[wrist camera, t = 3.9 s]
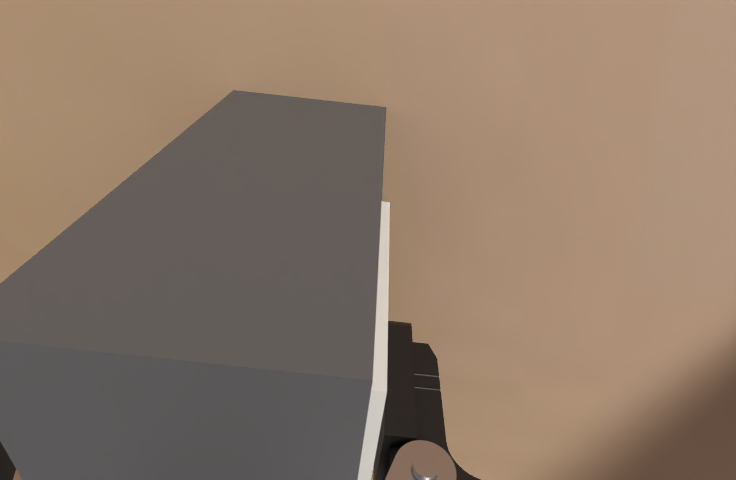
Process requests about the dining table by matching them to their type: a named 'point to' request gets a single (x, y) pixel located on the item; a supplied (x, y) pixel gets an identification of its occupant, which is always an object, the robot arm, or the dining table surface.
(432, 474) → the robot arm
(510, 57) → the dining table surface
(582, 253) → the dining table surface
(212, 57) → the dining table surface
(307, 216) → the mini frame
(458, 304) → the dining table surface
